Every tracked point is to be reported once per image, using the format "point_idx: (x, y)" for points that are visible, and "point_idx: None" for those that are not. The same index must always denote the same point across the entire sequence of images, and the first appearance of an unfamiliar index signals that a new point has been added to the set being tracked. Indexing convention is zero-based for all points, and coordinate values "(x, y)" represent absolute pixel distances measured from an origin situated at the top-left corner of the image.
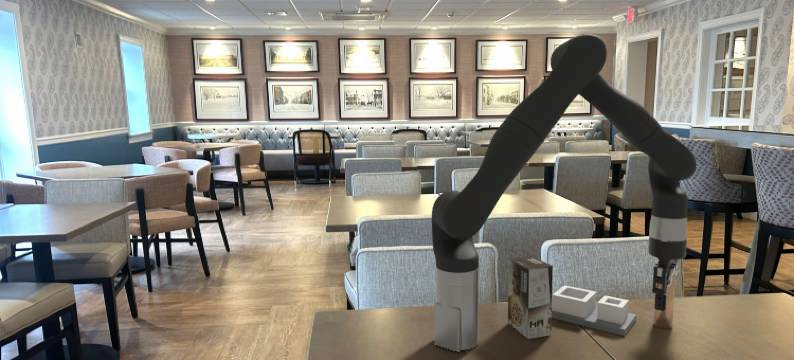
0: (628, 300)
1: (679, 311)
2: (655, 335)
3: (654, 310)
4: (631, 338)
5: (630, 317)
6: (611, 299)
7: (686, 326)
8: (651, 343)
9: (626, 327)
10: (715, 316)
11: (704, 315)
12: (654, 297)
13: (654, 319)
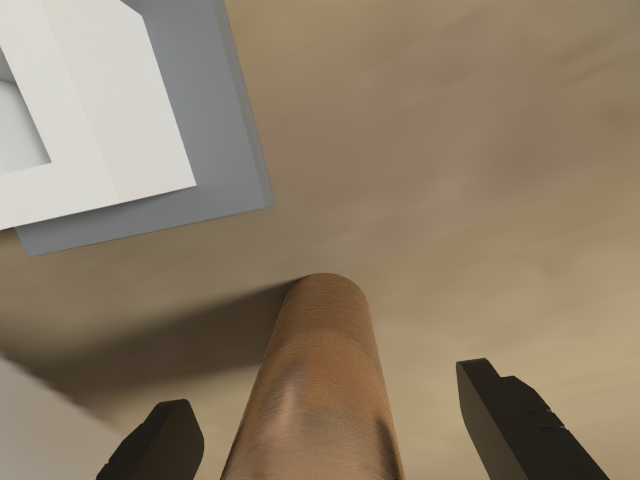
0: (112, 204)
1: (577, 306)
2: (189, 332)
3: (280, 328)
4: (71, 276)
5: (197, 202)
6: (12, 53)
7: (391, 385)
8: (105, 348)
9: (57, 250)
10: (609, 432)
11: (592, 399)
12: (275, 386)
13: (284, 303)
